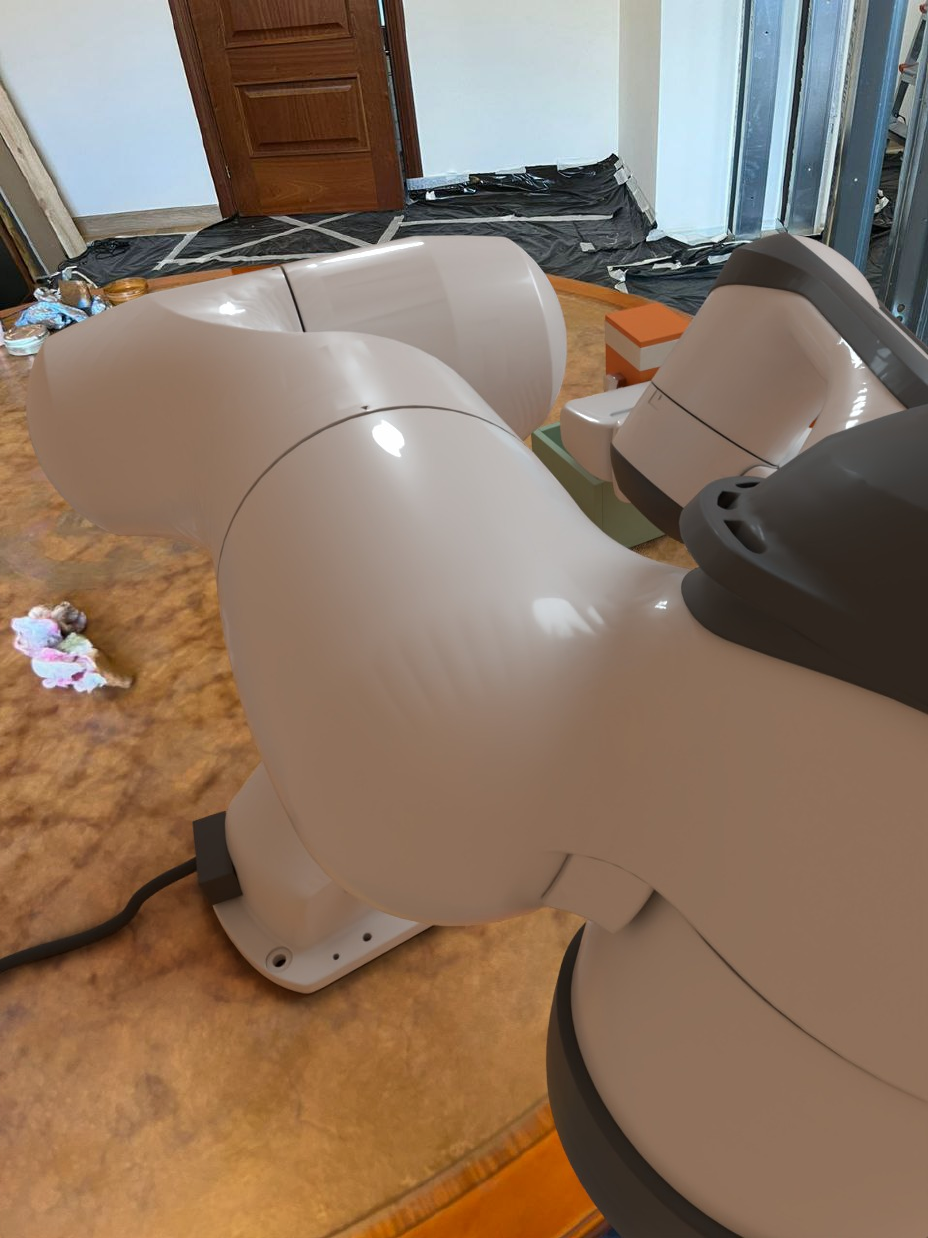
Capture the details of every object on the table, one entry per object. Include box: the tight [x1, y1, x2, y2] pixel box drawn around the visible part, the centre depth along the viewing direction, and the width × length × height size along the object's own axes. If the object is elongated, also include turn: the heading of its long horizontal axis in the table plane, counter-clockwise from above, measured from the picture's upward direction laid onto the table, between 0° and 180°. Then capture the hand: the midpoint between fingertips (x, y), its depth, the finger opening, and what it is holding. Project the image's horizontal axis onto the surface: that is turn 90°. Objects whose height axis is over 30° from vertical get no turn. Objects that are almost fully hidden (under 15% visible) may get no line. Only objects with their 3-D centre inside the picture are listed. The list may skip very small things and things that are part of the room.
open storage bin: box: [530, 420, 666, 549], centre depth 87 cm, size 13×13×9 cm
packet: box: [604, 302, 690, 387], centre depth 75 cm, size 5×7×11 cm
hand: (643, 373), depth 76 cm, fingers closed on packet, 5 cm apart
